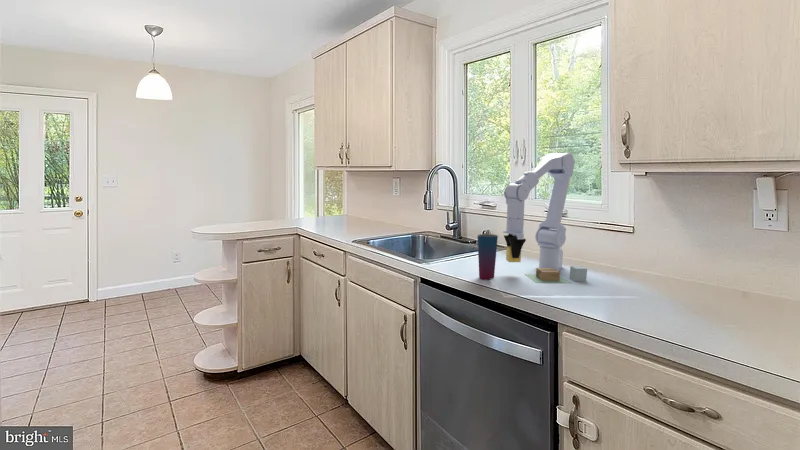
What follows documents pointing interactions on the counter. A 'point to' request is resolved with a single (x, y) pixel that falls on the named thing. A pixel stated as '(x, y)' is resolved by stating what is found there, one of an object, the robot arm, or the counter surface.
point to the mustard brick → (509, 256)
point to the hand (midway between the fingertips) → (513, 256)
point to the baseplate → (537, 280)
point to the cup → (487, 255)
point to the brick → (578, 273)
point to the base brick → (548, 274)
